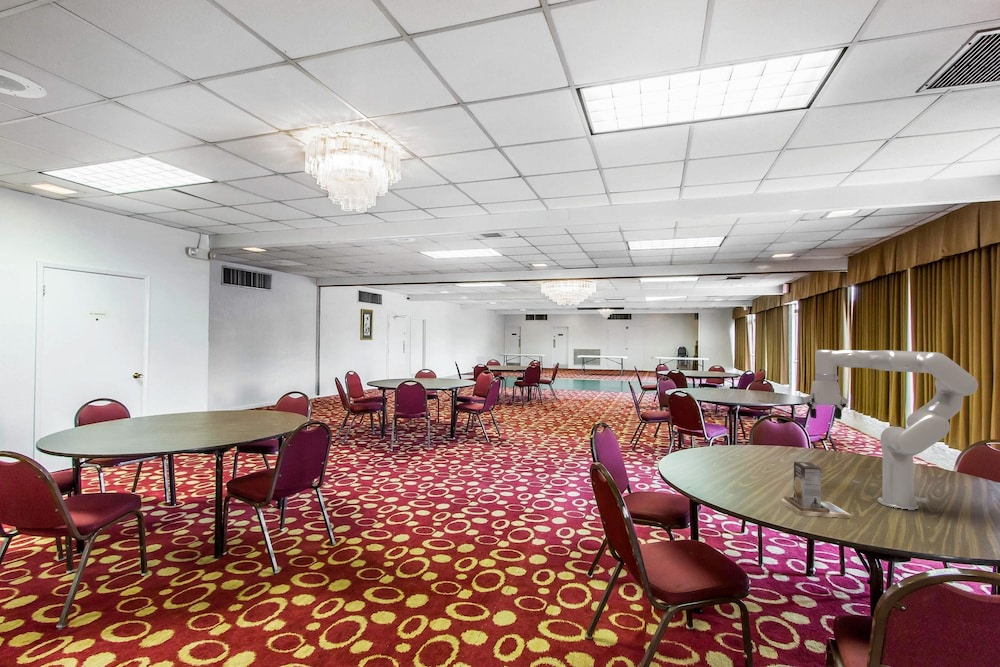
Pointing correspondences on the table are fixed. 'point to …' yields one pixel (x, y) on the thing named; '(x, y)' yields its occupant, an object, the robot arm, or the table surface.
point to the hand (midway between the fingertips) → (825, 418)
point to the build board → (815, 509)
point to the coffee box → (807, 484)
